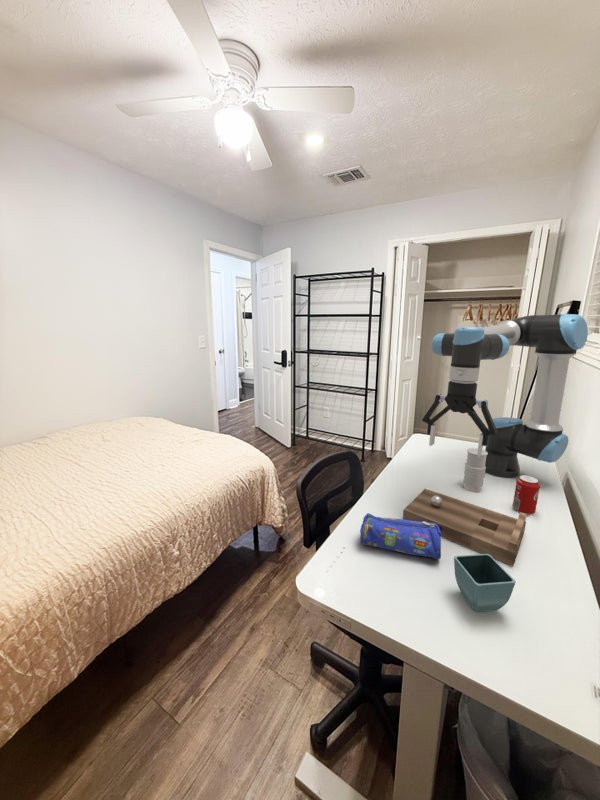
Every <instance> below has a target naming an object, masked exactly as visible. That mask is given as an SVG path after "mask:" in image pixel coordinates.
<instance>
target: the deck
mask: <svg viewBox="0 0 600 800" xmlns="http://www.w3.org/2000/svg"><path fill="white" fill-rule="evenodd" d="M435 495H437V496H439V497H441V498H442V501H443V503H442V505H441V506H439V507H435V506H433V505H432V503H431V498H432V497H433V496H435ZM402 511H403V512H402V513H403V514H402V519H404V520H410V521H417V522H423V521H425V522H427V523H435V524H437V525H440V526H442V531H441V536H440V538H441V537H442V538H443V539H446V540H448V541H451V542H453V543H455V544H457V545H460V546H462V547H465V548H468V549H470V550H471V551H472V550H473V551H475V552H477V553H479V554H489V555H491V556H492V557H493V558H494V560H495V561H499V562H501V563H503V564H506V565H508V566H510V567H514V566H515V563H516V560H517V556H518V554H519V550H520V547H521V545H522V541H523V538H524V536H525V535H524V534H525V530H526V524H527V522H526V520H527V519H526V518H527V515H526V514H525V513H521V512H520V514H518V517H517V518H516V517H512V516H509V515H507V514H504V513H500V512H497V511H493V510H491V509H488V508H485V507H482V506H479V505H476V504H472V503H470V502H466V501H464V500H461V499H458V498H455V497H451V496H449V495H446V494H442V493H440V492H438V491H437V492H436V491H433V490H430V489H427V488H423V490H422V491H421V492H420V493H418V495H417V496H415V498H413V500H411V502H410V503H408V505H406V506H405V507H404V508H403V510H402Z"/></svg>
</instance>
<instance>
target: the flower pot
mask: <svg viewBox="0 0 600 800" xmlns="http://www.w3.org/2000/svg"><path fill="white" fill-rule="evenodd" d="M453 560H454V561H453V562H454V563H453V565H454V576H455V577H454V578H455V581H456V584H457V588H458V589H459V591H460V593H461V595H462V596H463V597H464V599H465V600H466V602H467V603H468V604H469V606H470V607H471V609H472V610H473V612H474V613H475V612H476V613H481V612H493V611H494V612H495V611H498V610H499V609H501V608H503V607H504V606H505V605H506V604H507V603H508V602H509V601H510V598H511V596H512V593H513V591H514V589H515V585H516V583H517V582H516V579H515V578H513V577H512V576H511V575H510V573H508V572H507V571H506V569H504V568H503V567H502V566H501V564H499V562H497V560H496V559H494V558H493V557H492V556H491V555H489V554H481V553H479V554H467V555H466V554H465V555H455V556H454V557H453Z"/></svg>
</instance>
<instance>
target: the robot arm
mask: <svg viewBox="0 0 600 800" xmlns="http://www.w3.org/2000/svg"><path fill="white" fill-rule="evenodd" d="M588 335H589V331H588V324H587V322H586V319H585V318H584V317H583V316H582V315H580V314H576V313H575V314H574V313H573V314H571V313H569V314H568V313H563V314H561V313H560V314H536V315H535V314H532V315H525V316H520V317H515V318H512V319H511V318H510V319H508V320H503V321H501V322H499V323H498V324H495V325H489V326H485V327H482V326H480V327H479V326H478V327H477V326H476V327H475V326H467V327H466V326H465V327H464V326H460V327H459V326H458V327H457V328H456V329H455V330H454V332H452V333H451V332H450V333H449V332H448V333H447V332H443V333H438V334H436V335H435V336H434V337H433V339H432V341H431V351H432V352H433V353H434V355H436V356H442V357H445V356H446V357H451V361H450V367H449V376H448V378H449V381H448V385H447V395H446V396H445V395H442V394H441V393H438V394H436V395H435V398H434V400H433V401H434V402H433V403H432V405H431V406H430V408H429V409H428V410H427V412H426V414H425V415H424V416H423V418H422V419H421V421H422V422H423V423H426V424H427V433H426V434H427V435H429V441H428V443H429V444H428V446H433V445H434V444H435V441H436V433H437V423H436V422H437V421H438V420H440V418H442V417H443V416H444V415H445V414H446V413H448V412H449V411H451V412H452V413H460V414H467V415H468V416H469V417H470V419H472V421H473V423H474V424H475V425H476V426H477V428H478V429H479V431H480V432H481V433H480V434H479V439H478V446H477V449H478V452H477V457H480V456H481V455H482V450H484V451H486V452H487V453H488V455H487V456H486V463H485V466H486V469H485V474H488V475H492V476H495V477H500V478H509V479H510V478H511V479H512V478H517V477H520V472H521V468H520V464H519V460H518V459H519V458H518V454H521V455H523V456H526V457H529V458H532V459H536V460H537V461H542V462H546V463H555V462H557V461H559V460H560V458H561V457H562V456H563V455H564V453H565V452H566V450H567V448H568V445H569V436H568V435H567V434H565V433H563V431H564V427H563V426H562V425H561V424H560V417H561V411H562V406H563V405H562V404H563V400H564V395H565V393H564V392H565V387H566V382H567V376H568V369H569V364H570V359H572V358H573V357H574V356H576V355H577V352H578V351H577V350H581V349H584V347H585V345H586V342H587V341H588V337H589V336H588ZM510 346H515V347H516V346H517V347H526V348H527V347H529V348H535V350H534V354H535V355H536V356H537V357H538V364H537V370H536V371H537V372H536V377H535V378H536V379H535V384H534V390H533V391H534V392H533V397H532V403H531V404H532V405H531V412H530V419H529V420H527V421H525V422H524V421H523V420H522V419H521V418H516V417H501V416H500V417H494V418H493V417H492V415H491V412H490V410H489V407H488V406H489V405H488V403H489V401H488V400H487V399H484V400H477V398H476V397H477V389H478V383H477V381H478V380H479V377H480V375H479V374H480V367H481V360H482V361H485V360H492V361H494V360H498V359H501V358H504V357H505V356H506V355H507V353H509V350H510ZM444 401H445V402H446V404H447V405H446V406H445V407H444V408H442V410H440V412H438V413H437V414H436V415H435V416H433V417H432V418H431V416H432V415H433V414H434V412H435V411H436V409H437V408H438V407H439V405H440V403H442V402H444ZM476 405H477V406H478V408H479V409H481V410H480V411H481V413H482V415H483V418H484V420H485V423H486V424H485V423H484V422H483V420H482V419H481V417H480V416H479V415H478V413H477V411H476V410H475V409H474V407H475V406H476ZM486 425H487V426H486ZM483 447H485V449H483Z"/></svg>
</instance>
